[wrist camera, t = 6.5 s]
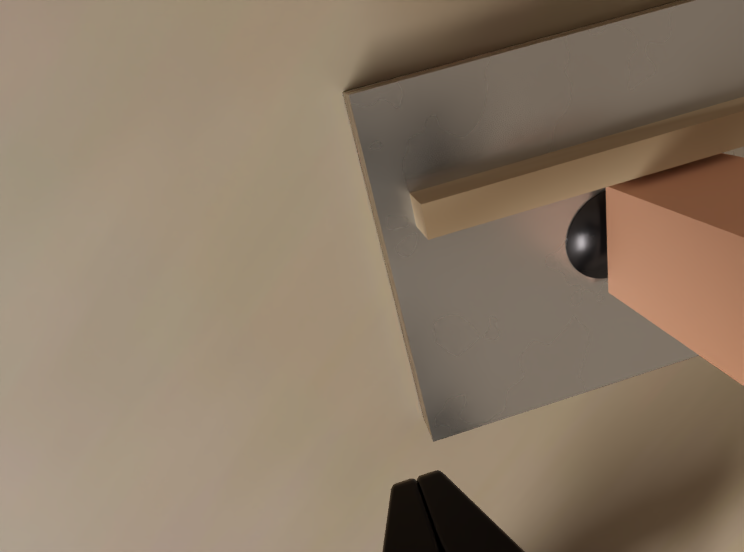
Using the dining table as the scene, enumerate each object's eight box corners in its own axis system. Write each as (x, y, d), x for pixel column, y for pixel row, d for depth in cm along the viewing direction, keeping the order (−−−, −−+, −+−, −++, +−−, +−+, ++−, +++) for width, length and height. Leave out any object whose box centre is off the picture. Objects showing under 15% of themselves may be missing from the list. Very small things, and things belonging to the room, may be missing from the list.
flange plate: (890, 269, 20) (928, 282, 19) (424, 419, 18) (433, 442, 17) (982, -82, 15) (1041, -94, 13) (342, 92, 13) (348, 95, 12)
